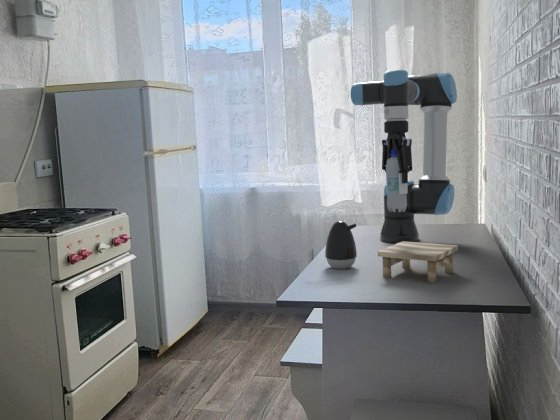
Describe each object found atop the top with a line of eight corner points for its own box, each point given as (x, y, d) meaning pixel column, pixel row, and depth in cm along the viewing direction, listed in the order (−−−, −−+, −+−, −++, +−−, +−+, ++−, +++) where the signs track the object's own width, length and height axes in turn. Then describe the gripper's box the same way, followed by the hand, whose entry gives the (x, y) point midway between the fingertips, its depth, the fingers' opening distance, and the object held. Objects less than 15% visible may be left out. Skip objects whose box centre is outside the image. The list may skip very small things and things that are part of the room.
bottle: (402, 213, 191) (402, 149, 189) (382, 212, 195) (382, 149, 193) (410, 210, 197) (410, 148, 194) (391, 209, 200) (390, 148, 198)
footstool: (402, 265, 197) (402, 241, 196) (457, 271, 186) (457, 245, 185) (378, 277, 182) (377, 251, 181) (436, 284, 172) (435, 256, 171)
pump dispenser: (353, 271, 191) (352, 223, 189) (321, 270, 195) (320, 223, 193) (360, 264, 201) (359, 219, 199) (330, 263, 204) (329, 218, 202)
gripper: (370, 121, 200) (371, 191, 203) (403, 119, 182) (404, 195, 185) (389, 121, 203) (390, 190, 206) (424, 118, 185) (424, 194, 188)
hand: (396, 192), depth 195 cm, fingers closed on bottle, 6 cm apart
